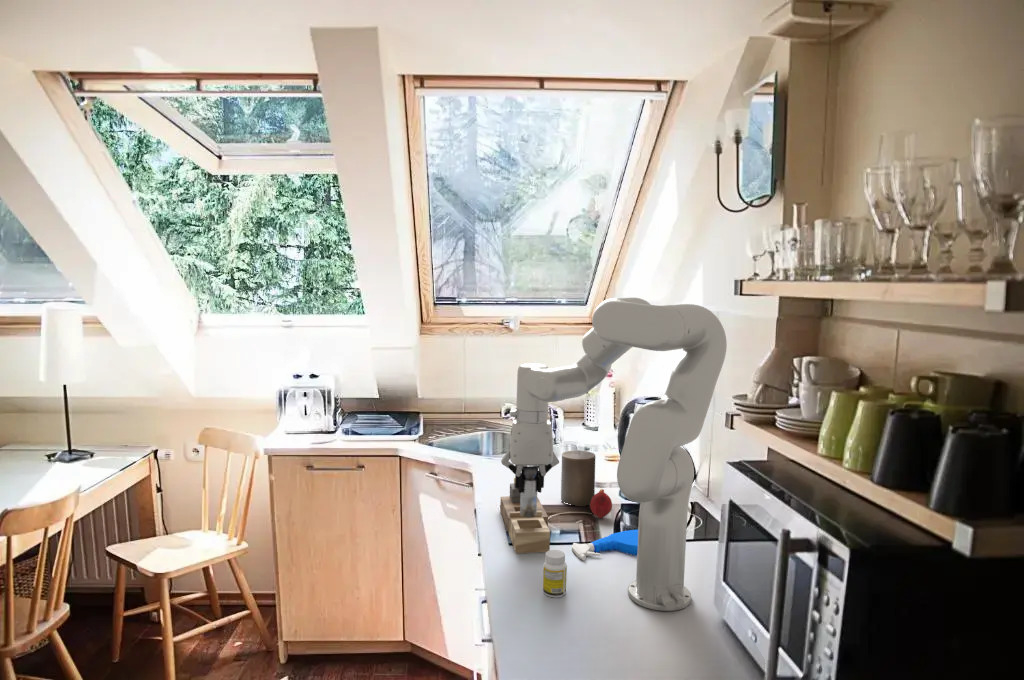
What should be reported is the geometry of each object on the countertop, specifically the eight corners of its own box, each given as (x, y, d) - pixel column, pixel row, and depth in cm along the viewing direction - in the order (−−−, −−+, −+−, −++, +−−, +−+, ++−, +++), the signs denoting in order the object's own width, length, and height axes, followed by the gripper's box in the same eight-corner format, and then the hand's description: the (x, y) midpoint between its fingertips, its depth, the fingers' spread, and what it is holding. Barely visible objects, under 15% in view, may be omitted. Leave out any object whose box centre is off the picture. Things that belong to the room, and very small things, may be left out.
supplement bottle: (552, 585, 145) (553, 546, 144) (570, 592, 142) (571, 553, 141) (538, 593, 142) (539, 553, 141) (556, 600, 139) (558, 560, 138)
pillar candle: (601, 504, 196) (602, 452, 194) (571, 508, 191) (573, 455, 190) (582, 494, 204) (583, 444, 203) (553, 498, 200) (555, 447, 198)
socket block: (547, 532, 174) (548, 502, 173) (508, 533, 173) (509, 504, 172) (536, 509, 190) (537, 482, 189) (500, 510, 188) (500, 483, 188)
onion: (610, 523, 181) (611, 493, 180) (588, 521, 182) (589, 491, 181) (612, 515, 187) (613, 486, 186) (590, 513, 188) (591, 485, 187)
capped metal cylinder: (537, 517, 164) (539, 468, 163) (521, 517, 164) (523, 468, 162) (534, 511, 168) (536, 463, 167) (518, 511, 168) (520, 463, 166)
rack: (549, 551, 162) (550, 527, 161) (515, 553, 161) (516, 528, 160) (540, 533, 173) (541, 510, 172) (509, 535, 172) (509, 511, 171)
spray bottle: (656, 525, 174) (565, 536, 166) (679, 541, 163) (583, 554, 156) (655, 536, 174) (565, 548, 167) (678, 553, 164) (583, 567, 156)
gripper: (498, 419, 158) (496, 497, 160) (570, 419, 161) (566, 495, 163) (494, 412, 166) (492, 486, 168) (563, 412, 168) (560, 485, 170)
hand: (529, 490), depth 165 cm, fingers closed on capped metal cylinder, 4 cm apart
